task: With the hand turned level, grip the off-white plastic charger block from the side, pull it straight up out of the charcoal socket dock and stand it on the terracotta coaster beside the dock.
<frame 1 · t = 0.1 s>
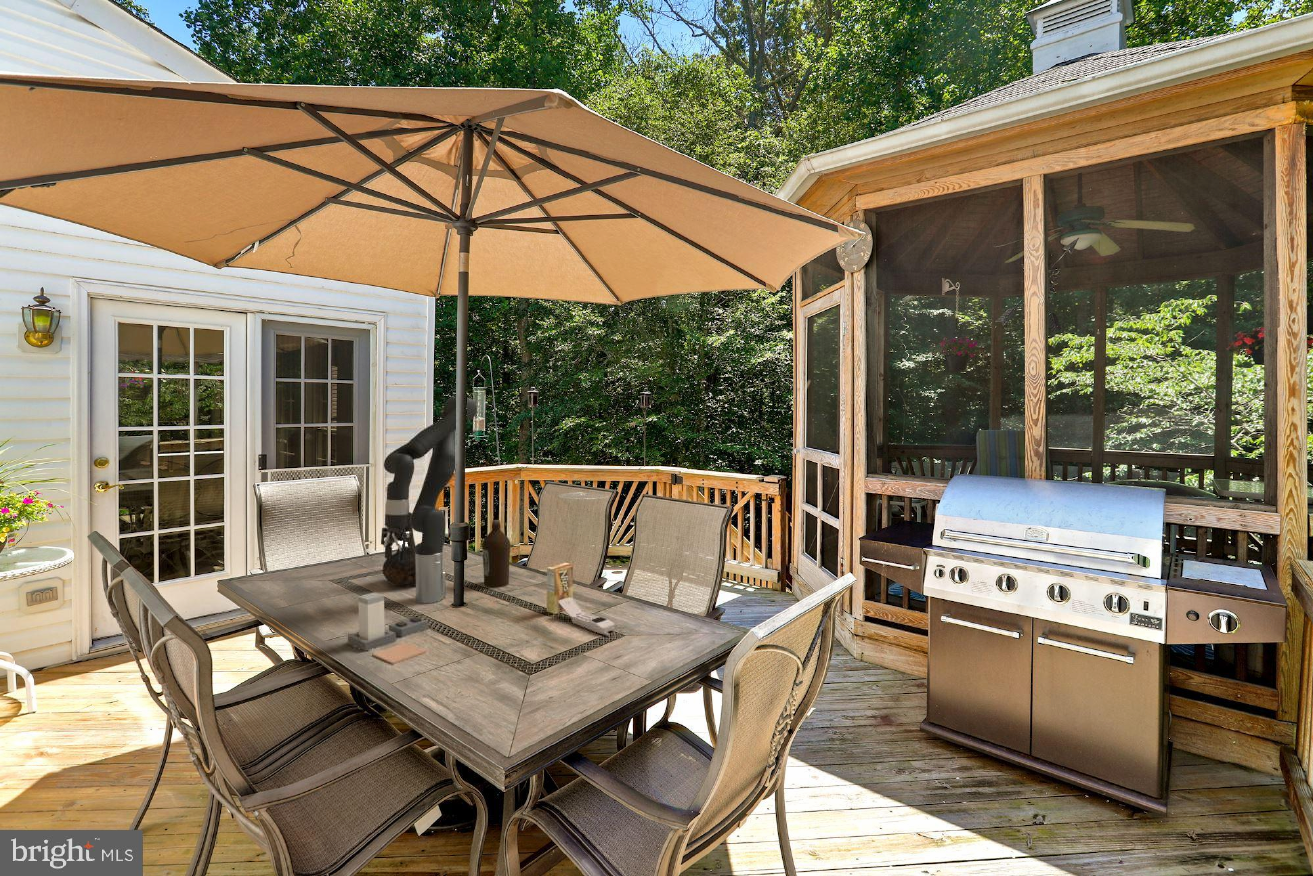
hand: (395, 560, 211), 17 cm above the table, tool pointing down, fingers open, 8 cm apart
mobile phone: (587, 625, 199), on the table
charging dock: (372, 642, 183), on the table
dark brown vase: (408, 584, 242), on the table
olive oil: (496, 584, 243), on the table
coaster: (399, 654, 175), on the table
candy box: (559, 610, 213), on the table
charger block: (372, 642, 183), resting in charging dock
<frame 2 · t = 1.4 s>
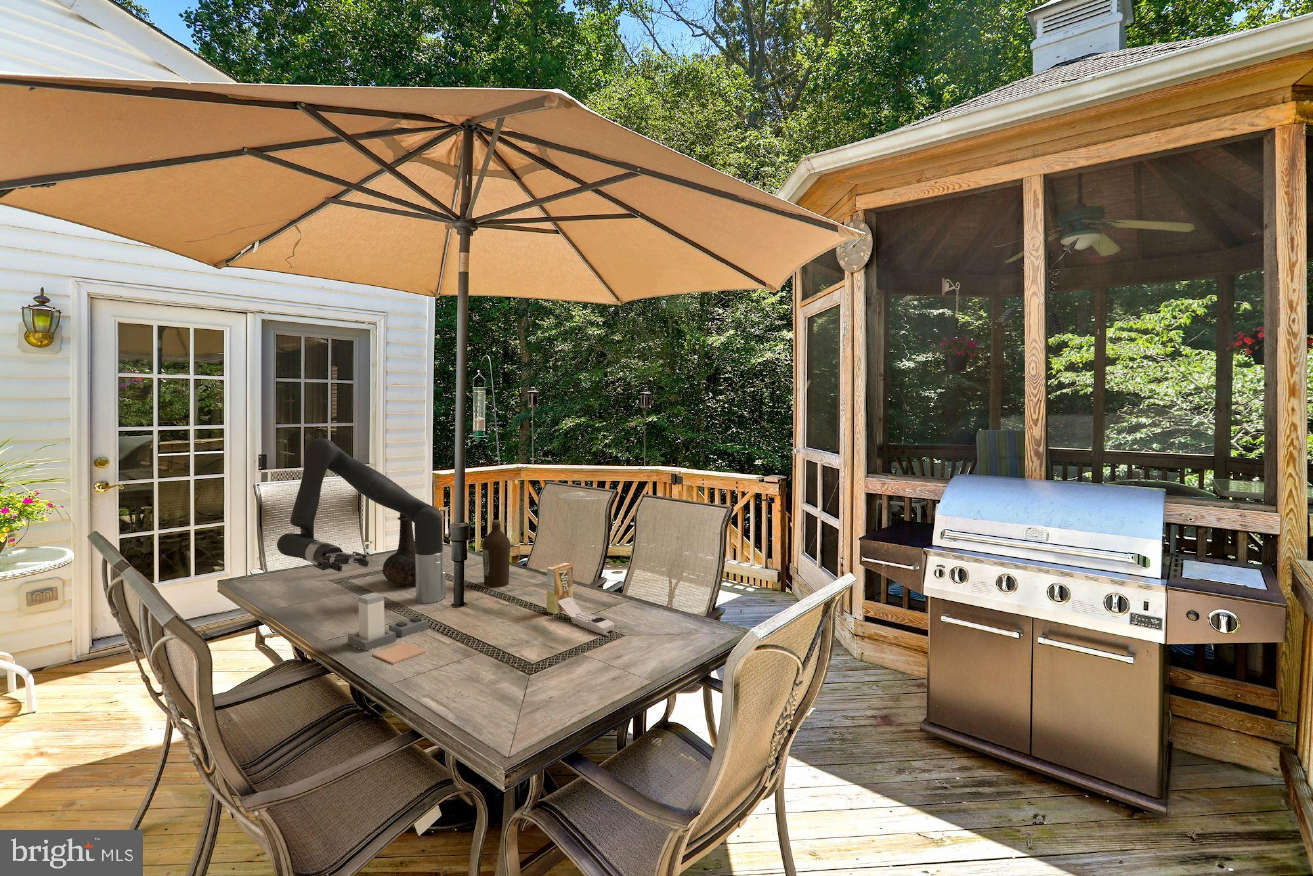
hand: (354, 565, 189), 21 cm above the table, tool horizontal, fingers open, 8 cm apart
nothing on the table moved.
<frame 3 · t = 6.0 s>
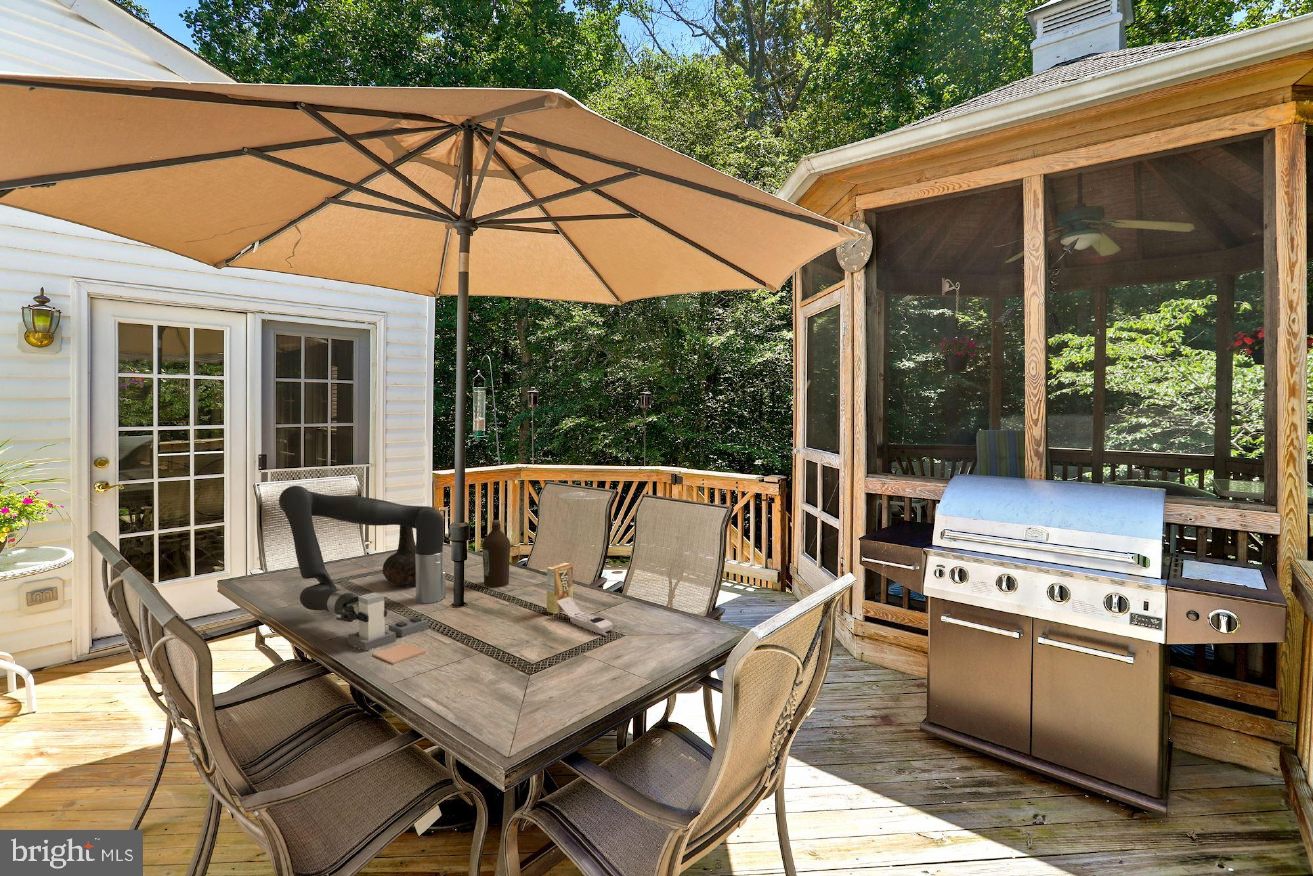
hand: (376, 616, 181), 9 cm above the table, tool horizontal, fingers closed on charger block, 5 cm apart
charger block: (372, 642, 183), resting in charging dock, touching gripper
everything else where it was.
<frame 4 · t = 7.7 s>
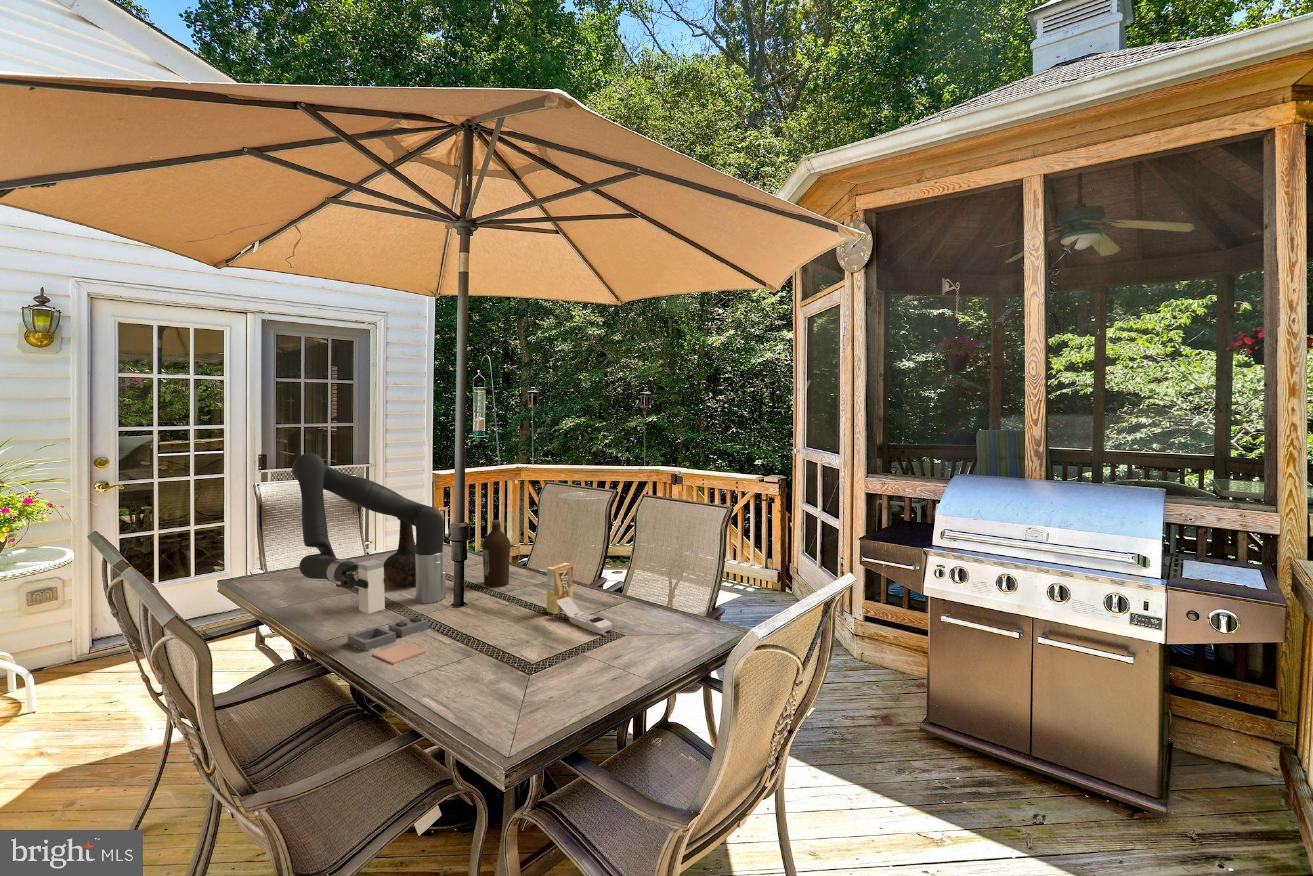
hand: (376, 582, 180), 18 cm above the table, tool horizontal, fingers closed on charger block, 5 cm apart
charger block: (372, 609, 183), point 10 cm above the table, touching gripper
everything else where it was.
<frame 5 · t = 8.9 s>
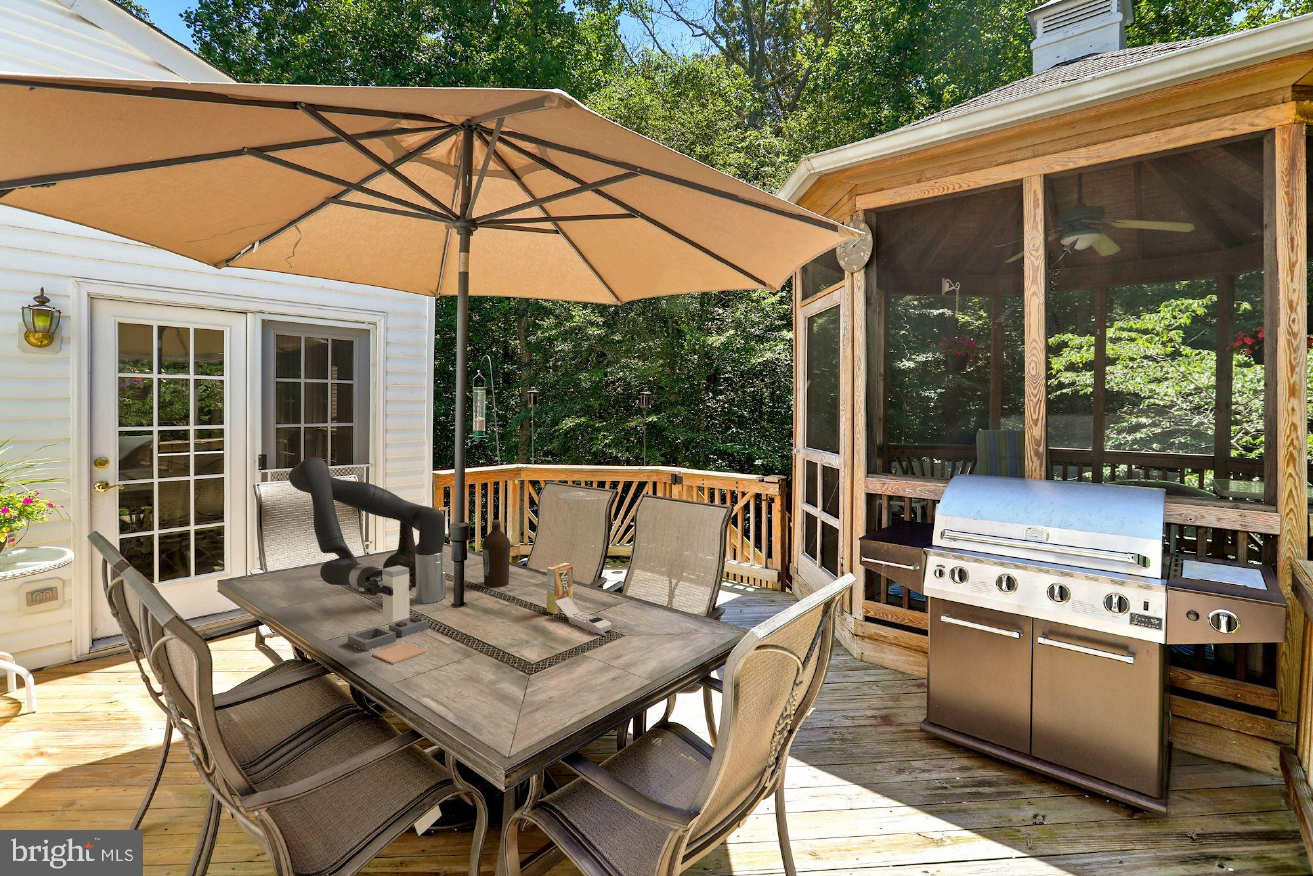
hand: (401, 589, 172), 19 cm above the table, tool horizontal, fingers closed on charger block, 5 cm apart
charger block: (396, 617, 174), point 10 cm above the table, touching gripper
everything else where it was.
when the fingers open (10 cm above the table, at t = 11.6 s): charger block stays where it is, resting on coaster.
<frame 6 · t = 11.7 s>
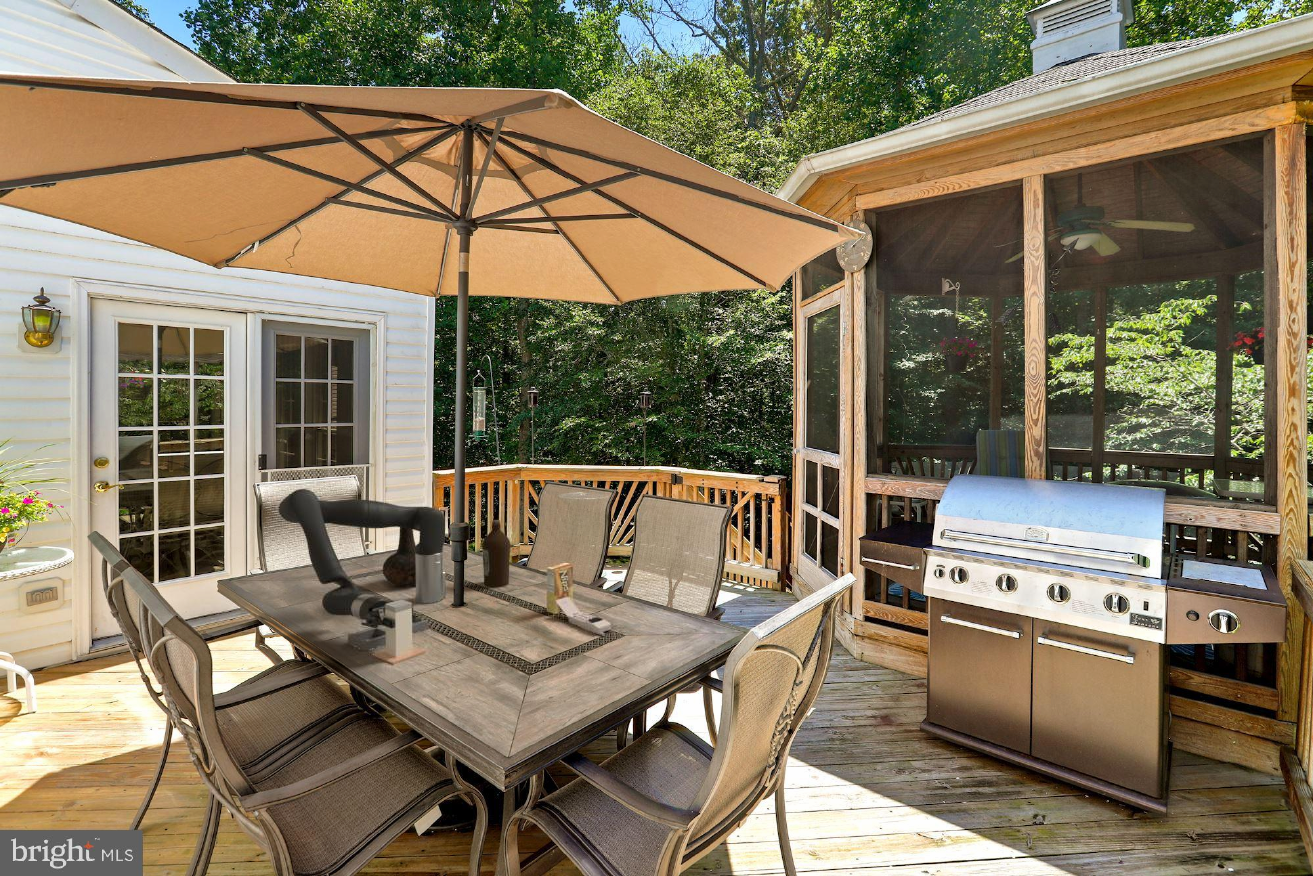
hand: (404, 621, 173), 10 cm above the table, tool horizontal, fingers open, 6 cm apart
charger block: (399, 652, 175), resting on coaster
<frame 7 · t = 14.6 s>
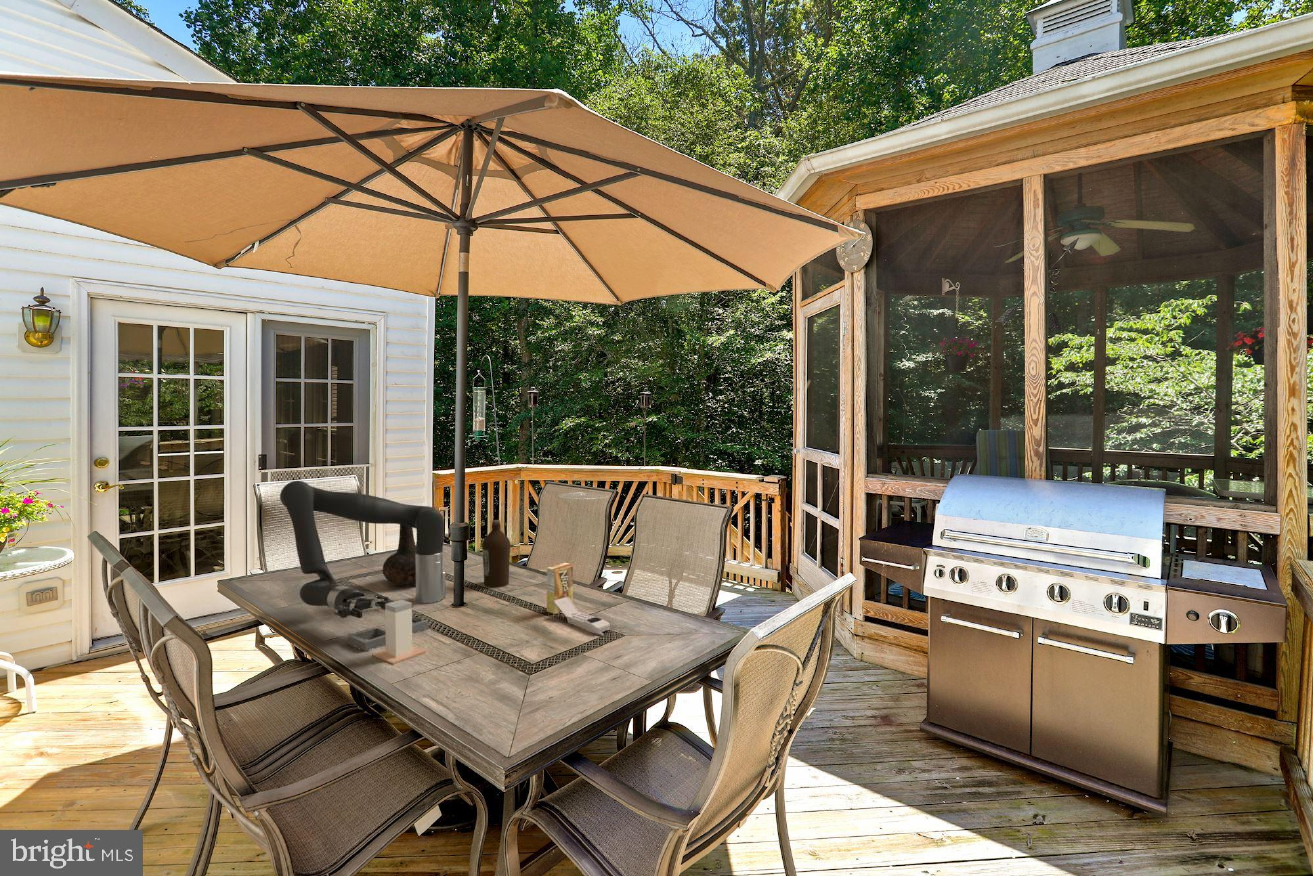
hand: (375, 610, 181), 10 cm above the table, tool horizontal, fingers open, 8 cm apart
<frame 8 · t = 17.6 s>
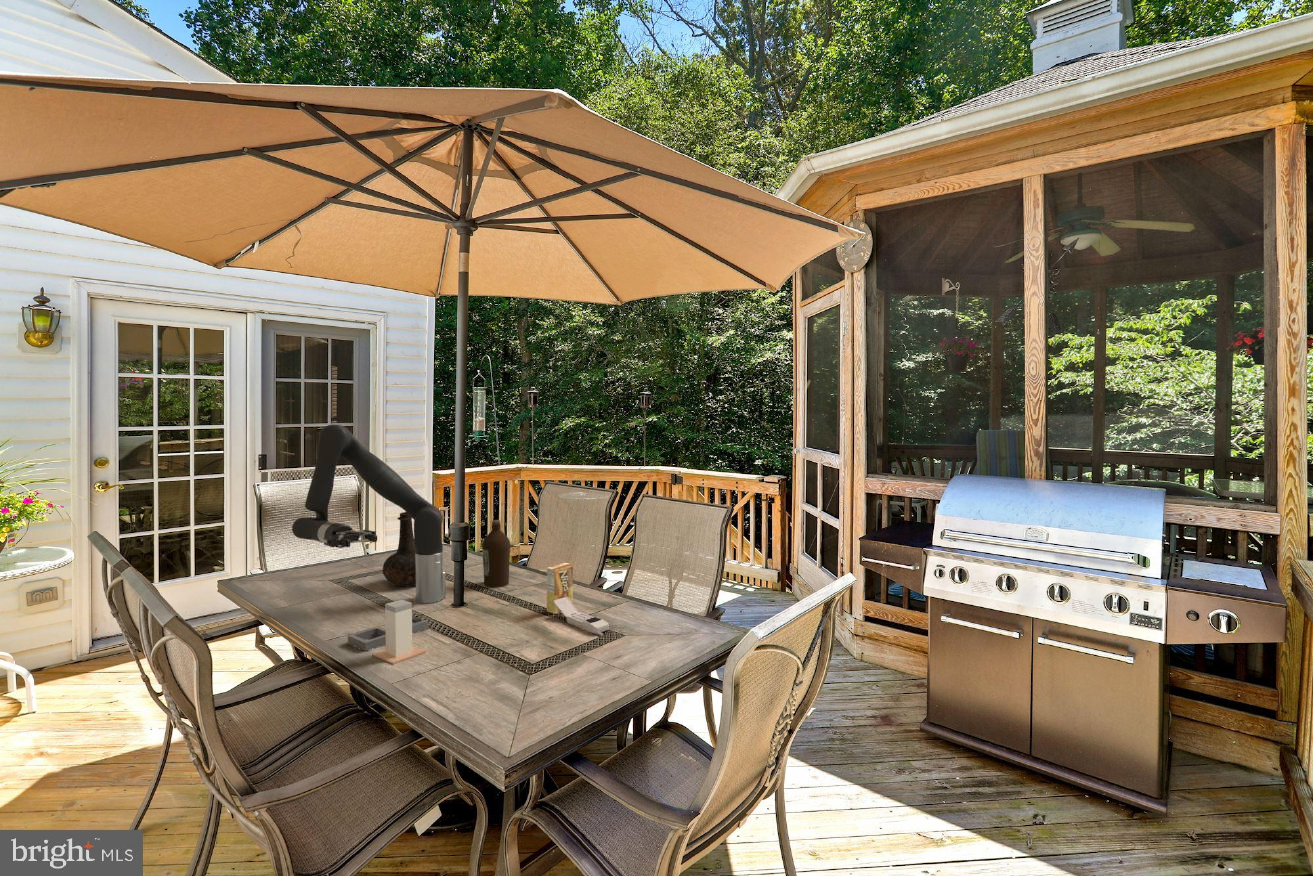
hand: (362, 541, 191), 28 cm above the table, tool horizontal, fingers open, 8 cm apart
at the end: charger block 0.0 cm from the target spot, point 0.5 cm above the table; charger block tilted 0°; the gripper is holding nothing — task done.
